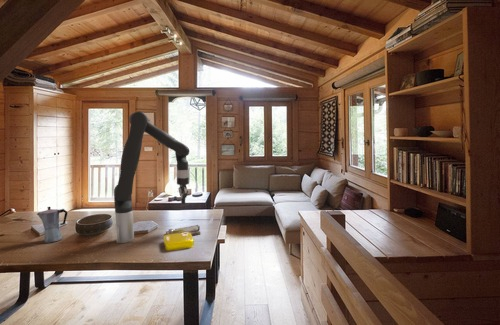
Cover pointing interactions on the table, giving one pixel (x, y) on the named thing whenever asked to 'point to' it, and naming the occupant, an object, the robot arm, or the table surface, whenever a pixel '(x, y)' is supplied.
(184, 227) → the tong swing arm
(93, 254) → the table surface
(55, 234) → the moka pot
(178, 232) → the tong fixed arm
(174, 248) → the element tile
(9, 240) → the table surface
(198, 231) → the tong board
